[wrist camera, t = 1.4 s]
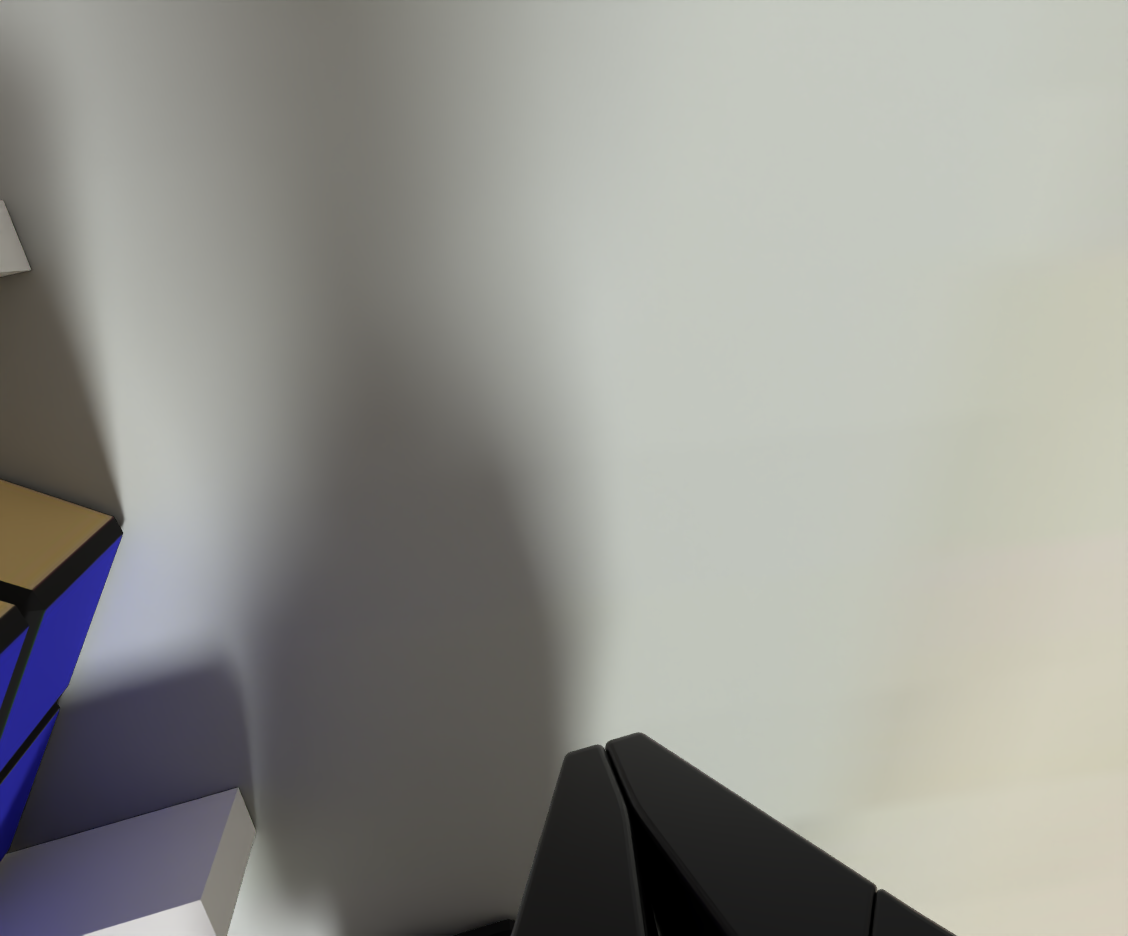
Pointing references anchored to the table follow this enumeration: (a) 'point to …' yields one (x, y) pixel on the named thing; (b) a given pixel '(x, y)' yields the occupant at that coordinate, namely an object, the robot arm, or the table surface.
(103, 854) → the trap channel
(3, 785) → the puzzle cube
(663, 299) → the table surface
